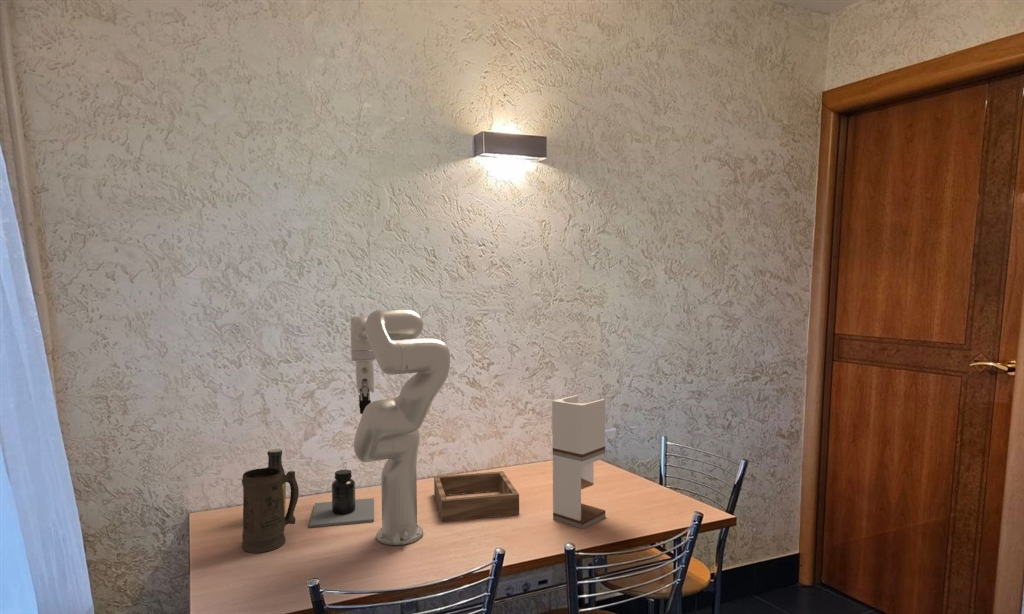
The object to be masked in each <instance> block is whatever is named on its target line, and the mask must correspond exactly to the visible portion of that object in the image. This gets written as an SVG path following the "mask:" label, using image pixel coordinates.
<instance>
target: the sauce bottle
mask: <svg viewBox="0 0 1024 614" xmlns="http://www.w3.org/2000/svg"><path fill="white" fill-rule="evenodd" d="M282 455H283V450H282V448H273V449H269V450H268V451H267V457H268V464H267V467H266V468H277V469H280V470H281V472H282V476H284V475H286V472H285V469H284V467H283V462H282ZM286 483H287V482H285V483H284V484H283V485H282V491H283V495H284V515H286V504H287V503H286V498H287V497H286V495H287V494H286V488H287V487H286Z"/></svg>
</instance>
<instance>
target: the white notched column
mask: <svg viewBox="0 0 1024 614" xmlns="http://www.w3.org/2000/svg"><path fill="white" fill-rule="evenodd" d="M551 403H552V404H551V405H552V407H551V408H552V411H551V412H552V416H551V417H552V421H551V422H552V425H551V427H552V429H551V430H552V432H551V433H552V520H555V521H556V522H557V521H558V522H560V523H563V524H566V525H569V526H571V527H575V528H579V529H581V530H583V529H585V528H587V527H590V526H591V525H593V524H595V523H597V522H599V521H601V520H603V519H605V518H606V510H605V509H602V508H598V507H596V506H592V505H588V504H585V503H582V490H584V489H587V488H589V487H592V486H594V485H595V484H594V480H595V479H594V477H595V476H594V471H595V470H594V467H595V466H594V463H595V462H598V461H600V460H602V459H605V458H606V399H604V398H601V399H598V400H593V401H589V402H580V403H579V395H576V394H575V395H572V396H566V397H562V398H558V399H554V400H552V401H551Z"/></svg>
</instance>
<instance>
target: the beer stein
mask: <svg viewBox="0 0 1024 614" xmlns="http://www.w3.org/2000/svg"><path fill="white" fill-rule="evenodd" d="M285 482H286V483H288V484H289V486H290V487H289V488H290V496H289V497H290V498H289V503H288V509H287V511H286V513H285V514H284V495H283V491H282V485H283V484H284V483H285ZM241 484H242V488H243V489H242V490H243V492H242V493H243V494H242V495H243V498H242V501H243V504H242V505H243V507H242V525H243V526H242V536H241V537H242V543H241V548H242V550H243V551H245V552H247V553H251V554H252V553H253V554H256V553H257V554H261V553H267V551H268V552H270V551H274V550H277V549H279V548H280V547H282V546H283V545H284V544H285V543H286V537H285V527H286V526H288V525H295V524H296V522H297V521H296V517H295V515H294V512H295V509H296V506H297V504H298V501H299V494H300V493H299V486H298V485H299V484H298V482H297V479H296V472H295V470H292V471H291V470H289V471H287V473H285V475H284V476H282V472H281V470H280V469H277V468H267V467H261V468H255V469H251V470H247V471H245V472H244V473H243V474H242V478H241ZM276 548H277V549H276Z"/></svg>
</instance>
